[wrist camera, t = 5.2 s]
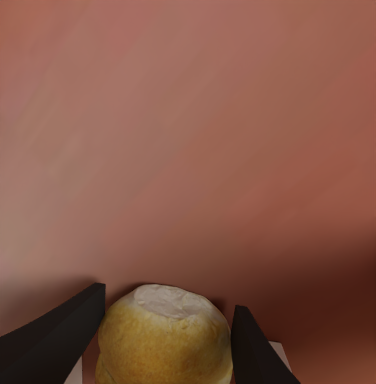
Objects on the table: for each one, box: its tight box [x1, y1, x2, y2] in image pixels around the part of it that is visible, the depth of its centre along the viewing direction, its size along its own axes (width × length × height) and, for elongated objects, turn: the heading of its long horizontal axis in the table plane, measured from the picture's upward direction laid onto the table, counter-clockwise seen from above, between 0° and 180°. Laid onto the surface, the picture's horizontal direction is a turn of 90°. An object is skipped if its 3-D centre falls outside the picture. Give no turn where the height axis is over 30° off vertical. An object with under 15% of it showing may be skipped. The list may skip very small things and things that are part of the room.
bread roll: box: [95, 284, 233, 384], centre depth 12 cm, size 8×9×4 cm
